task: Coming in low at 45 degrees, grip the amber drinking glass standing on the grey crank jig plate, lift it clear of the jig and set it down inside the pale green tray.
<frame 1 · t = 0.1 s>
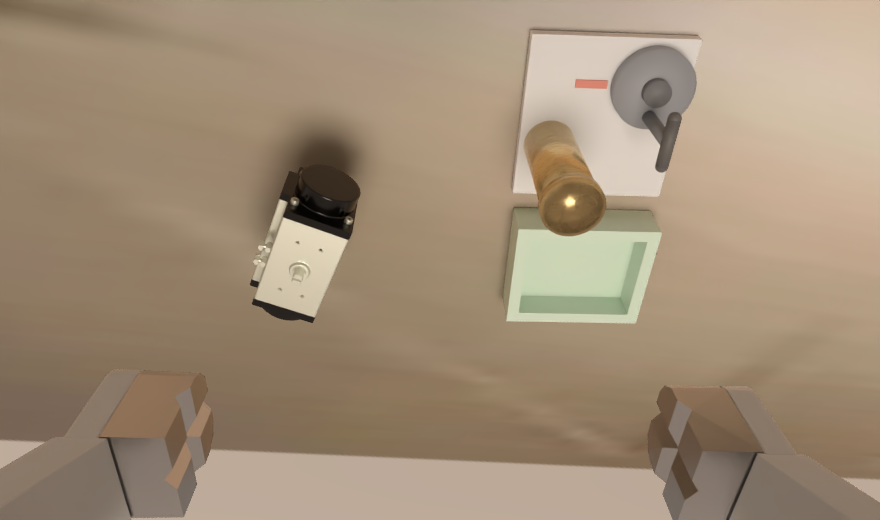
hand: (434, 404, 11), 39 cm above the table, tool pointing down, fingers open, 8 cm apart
pneumatic valve: (316, 191, 53), on the table
crank jig: (597, 116, 49), on the table
amber drinking glass: (548, 144, 49), point 1 cm above the table, touching crank jig
tray: (572, 255, 57), on the table
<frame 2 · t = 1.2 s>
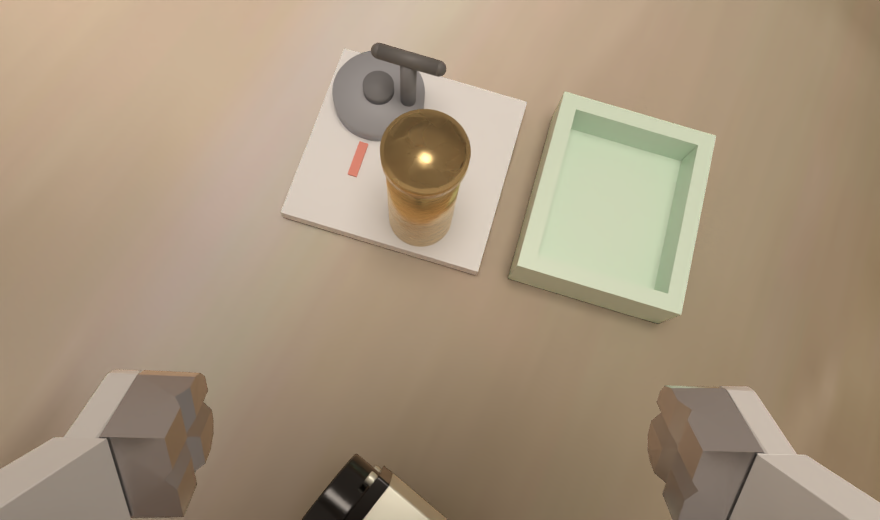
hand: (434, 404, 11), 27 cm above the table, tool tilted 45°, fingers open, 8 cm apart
crank jig: (408, 161, 42), on the table
amber drinking glass: (420, 216, 40), point 1 cm above the table, touching crank jig
tray: (602, 216, 41), on the table
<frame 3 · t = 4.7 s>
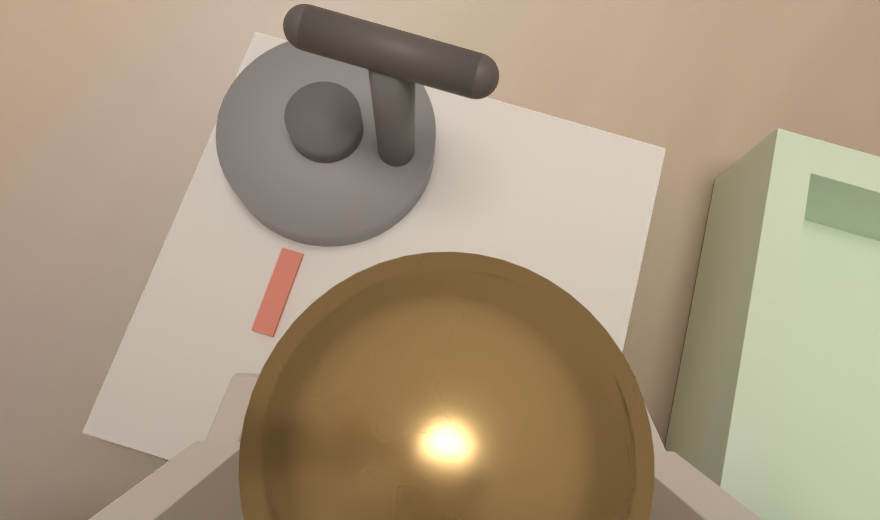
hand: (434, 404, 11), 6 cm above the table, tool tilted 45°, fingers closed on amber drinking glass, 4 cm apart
crank jig: (398, 286, 18), on the table
amber drinking glass: (427, 436, 16), point 1 cm above the table, touching crank jig, gripper
tray: (849, 413, 18), on the table
when the fingers open (8 cm above the table, at t = 9.5 s): amber drinking glass drops 1 cm, resting on tray.
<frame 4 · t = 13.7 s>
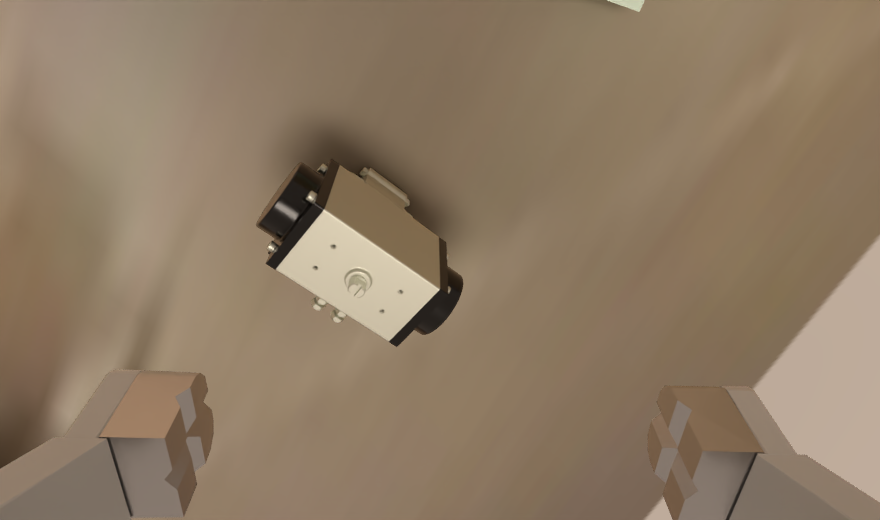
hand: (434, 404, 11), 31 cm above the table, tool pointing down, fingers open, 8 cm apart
pneumatic valve: (370, 200, 43), on the table
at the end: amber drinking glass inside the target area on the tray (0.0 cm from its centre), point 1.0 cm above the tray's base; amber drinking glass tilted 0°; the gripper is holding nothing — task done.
